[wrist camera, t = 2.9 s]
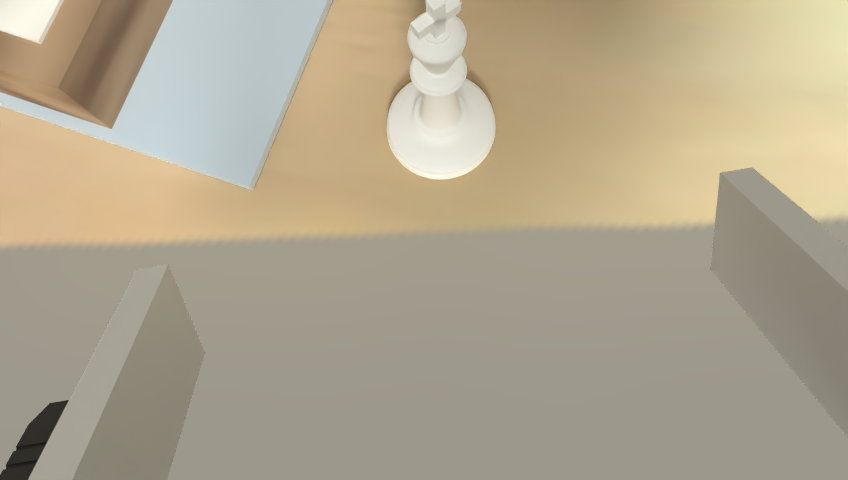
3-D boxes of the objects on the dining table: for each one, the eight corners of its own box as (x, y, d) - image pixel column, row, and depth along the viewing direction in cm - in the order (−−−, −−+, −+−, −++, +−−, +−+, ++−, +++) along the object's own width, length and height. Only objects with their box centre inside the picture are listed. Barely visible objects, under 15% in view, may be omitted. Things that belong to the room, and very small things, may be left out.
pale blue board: (340, -18, 32) (338, -26, 31) (252, 190, 30) (248, 186, 29) (12, -113, 34) (5, -122, 33) (-92, 75, 32) (-102, 69, 31)
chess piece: (365, 118, 30) (324, -11, 21) (451, 58, 31) (451, -96, 21) (429, 201, 29) (418, 106, 20) (517, 137, 30) (549, 14, 20)
